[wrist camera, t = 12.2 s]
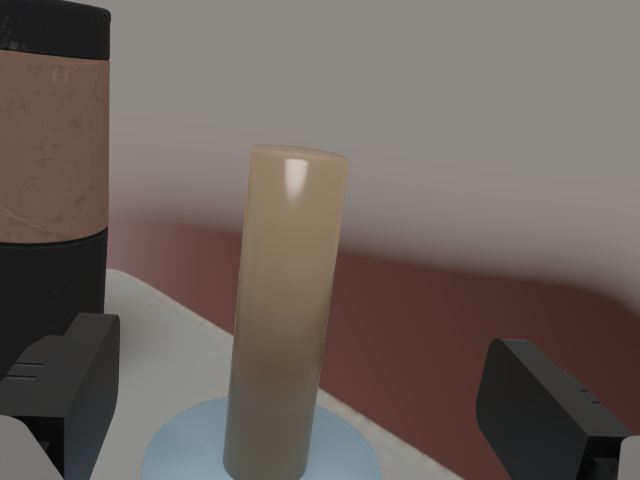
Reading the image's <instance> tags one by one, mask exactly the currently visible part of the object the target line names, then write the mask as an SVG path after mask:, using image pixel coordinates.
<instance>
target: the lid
mask: <svg viewBox="0 0 640 480" xmlns="http://www.w3.org/2000/svg"><path fill="white" fill-rule="evenodd" d="M349 163H350V160H349V159H348V158H347V157H344V156H342V155H339V154H336V153H332V152H327V151H322V150H317V149H311V148H303V147H296V146H283V145H258V146H253V147H251V151H250V162H249V173H248V184H247V195H246V207H245V217H244V229H243V240H242V251H241V263H240V273H239V284H238V295H237V307H236V317H235V329H234V340H233V351H232V362H231V373H230V384H229V395H228V396H227V397H222V398H217V399H213V400H210V401H206V402H203V403H201V404H198V405H195V406H193V407H191V408H189V409H187V410H185V411H183V412H181V413H179V414H178V415H176V416H175V417H173V418H172V419H171V420H169V421H168V422H167V423H166V424H165V425H163V426H162V427H161V429H160V430H159V431H158V432H157V433H156V434H155V435H154V437H153V439H152V440H151V442H150V443H149V445H148V447H147V450H146V452H145V455H144V459H143V464H142V480H382V473H381V467H380V464H379V461H378V458H377V456H376V454H375V452H374V450H373V448H372V447H371V445H370V444H369V443H368V441H367V440H366V439H365V438H364V436H363V435H362V434H361V433H360V432H359V431H358V430H357V429H355V428H354V427H353V426H352V425H351V424H349V423H348V422H347V421H345V420H344V419H342V418H341V417H339V416H337V415H336V414H334V413H332V412H330V411H328V410H326V409H324V408H321V407H319V406H317V405H316V398H317V391H318V383H319V376H320V368H321V362H322V355H323V348H324V341H325V334H326V327H327V320H328V312H329V305H330V298H331V291H332V284H333V276H334V270H335V263H336V256H337V248H338V242H339V234H340V227H341V220H342V213H343V206H344V198H345V192H346V185H347V177H348V171H349Z"/></svg>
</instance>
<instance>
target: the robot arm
mask: <svg viewBox="0 0 640 480" xmlns="http://www.w3.org/2000/svg"><path fill="white" fill-rule="evenodd" d="M119 346H120V319H119V316H118V315H111V314H95V313H79V314H78V315H77V316H76V318H75V320H74V321H73V323H72V324H71V326H70V327H69V329H68V330H67V332H66V333H65V335H64V336H55V335H47V336H45V337H44V338H42V339H40V340H39V341H37V342H35V343H33V344H32V345H30V346H28V347H27V348H26V349H25V350H24V352H23V353H22V354H21V356H20V357H19V358H18V359H17V361H16V362H15V365H13V366H12V367H11V369H10V370H9V371H8V373H7V374H6V377H5V378H3V379H2V380H1V382H0V480H89V479H90V476H91V474H92V471H93V468H94V466H95V463H96V460H97V458H98V455H99V452H100V450H101V447H102V444H103V442H104V439H105V436H106V434H107V431H108V428H109V426H110V423H111V420H112V418H113V415H114V411H115V407H116V401H117V395H118V383H119ZM476 417H477V422H478V425H479V428H480V429H481V431H482V432H483V434H484V436H485V437H486V439H487V441H488V442H489V444H490V445H491V447H492V449H493V450H494V452H495V453H496V455H497V456H498V458H499V459H500V461H501V463H502V464H503V466H504V467H505V469H506V471H507V472H508V474H509V475H510V477H511V479H512V480H640V436H635V435H634V434H633V433H632V432H631V431H630V430H629V429H628V428H627V427H626V426H625V425H624V424H623V423H622V422H621V421H619V420H618V419H617V418H616V417H615V416H614V415H613V414H612V413H611V412H610V411H609V410H608V409H607V408H606V407H605V406H604V405H601V404H600V401H599V400H598V399H597V398H596V397H595V396H594V395H593V394H592V393H588V390H587V389H586V388H585V387H584V386H583V385H582V384H581V383H580V382H579V381H578V380H577V379H576V378H575V377H574V376H573V375H571V374H569V373H568V372H566V371H564V370H563V369H561V368H559V367H558V366H556V365H554V364H553V363H552V362H551V361H550V360H549V359H548V358H547V357H546V356H545V355H544V354H543V353H542V352H541V351H540V350H539V349H538V348H537V347H536V346H535V345H534V344H533V343H532V342H531V341H529V340H515V339H500V338H496V339H494V340H493V341H492V342H491V344H490V346H489V348H488V353H487V357H486V361H485V365H484V370H483V374H482V378H481V382H480V387H479V391H478V396H477V400H476Z"/></svg>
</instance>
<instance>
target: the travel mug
mask: <svg viewBox="0 0 640 480" xmlns="http://www.w3.org/2000/svg"><path fill="white" fill-rule="evenodd" d="M110 22H111V14H110V12H109V11H108V10H106V9H103V8H100V7H95V6H91V5H86V4H80V3H75V2H70V1H64V0H0V382H1V380H2V379H3V378H5V377H6V374H7V373H8V371H9V370H10V369H11V367H12V366H13V365H15V362H16V361H17V359H18V358H19V357H20V356H21V354H22V353H23V352H24V350H25V349H26V348H27V347H28V346H30V345H32V344H33V343H35V342H37V341H39V340H40V339H42V338H44V337H45V336H47V335H55V336H64V335H65V333H66V332H67V330H68V329H69V327H70V326H71V324H72V323H73V321H74V320H75V318H76V316H77V315H78V314H79V313H95V314H104V296H105V277H106V257H107V240H108V239H107V238H108V201H109V200H108V198H109V196H108V195H109V71H110V68H109V65H110V64H109V62H110V61H109V58H110Z"/></svg>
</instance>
